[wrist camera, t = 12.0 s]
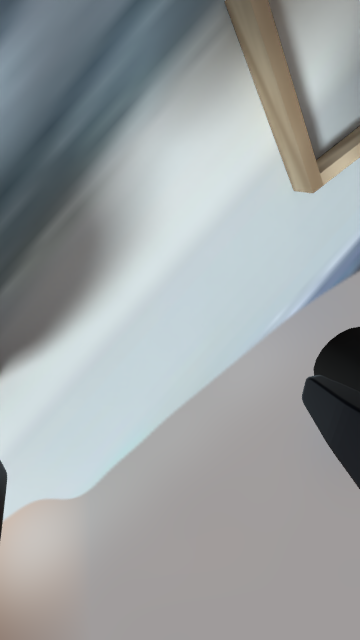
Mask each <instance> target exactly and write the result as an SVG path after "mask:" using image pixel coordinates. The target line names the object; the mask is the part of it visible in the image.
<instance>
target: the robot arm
mask: <svg viewBox="0 0 360 640" xmlns="http://www.w3.org/2000/svg"><path fill="white" fill-rule="evenodd" d="M302 400H303V403H304V405H305V407H306V408H307V410H308V412H309V413H310V415H311V417H312V418H313V420H314V422H315V424H316V425H317V427H318V429H319V430H320V432H321V434H322V435H323V437H324V439H325V440H326V442H327V444H328V445H329V447H330V448H331V449H332V451H333V453H334V454H335V456H336V457H337V458H338V460H339V461H340V462H341V464H342V465H343V467H344V468H345V469H346V471H347V472H348V473H349V475H350V476H351V478H352V479H353V480H354V482H355V483H356V484H357V486H358V487H359V489H360V392H359V391H357V390H354V389H352V388H350V387H347V386H345V385H343V384H340V383H338V382H336V381H333V380H331V379H329V378H326V377H324V376H321V375H315V376H312V377H308V378H307V379H306V382H305V386H304V390H303V394H302ZM6 485H7V473H6V470H5V468H4V466H3V464H2V462H1V461H0V538H1V530H2V522H3V513H4V503H5V494H6Z"/></svg>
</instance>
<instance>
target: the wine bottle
mask: <svg viewBox="0 0 360 640" xmlns="http://www.w3.org/2000/svg"><path fill="white" fill-rule="evenodd" d="M315 375H321V376H324V377H326V378H329V379H331V380H333V381H336V382H338V383H340V384H343V385H345V386H347V387H350V388H352V389H354V390H357V391H359V392H360V327H356V328H351V329H348V330H346V331H344V332H342V333H340V334H338V335H337V336H336V337H334V338H333V339H332V340H330V341H329V342H328V344H327V345H326V346H325V347H324V348H323V349H322V351H321V352H320V354H319V356H318V357H317V359H316V363H315V366H314V376H315Z"/></svg>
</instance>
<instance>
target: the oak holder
mask: <svg viewBox="0 0 360 640" xmlns="http://www.w3.org/2000/svg"><path fill="white" fill-rule="evenodd" d="M225 4H226V7H227V10H228V12H229V15H230V18H231V21H232V23H233V26H234V29H235V32H236V34H237V37H238V40H239V43H240V45H241V48H242V51H243V53H244V56H245V59H246V62H247V64H248V67H249V70H250V73H251V75H252V78H253V81H254V83H255V86H256V89H257V92H258V94H259V97H260V100H261V103H262V105H263V108H264V111H265V113H266V116H267V119H268V122H269V124H270V127H271V130H272V133H273V135H274V138H275V141H276V143H277V146H278V149H279V152H280V154H281V157H282V160H283V163H284V165H285V168H286V171H287V173H288V176H289V179H290V182H291V184H292V187H293V190H294V191H299V192H307V193H314V192H315V191H317V190H318V189H319V188H321V187H322V186H323V185H325V184H326V183H327V182H328V181H330V180H331V179H332V178H334V177H335V176H336V175H337V174H339V173H340V172H341V171H343V170H344V169H345V168H347V167H348V166H349V165H350V164H352V163H353V162H354V161H356V160H357V159H358V158H360V126H359V127H358V128H357V129H355V130H354V131H353V132H352V133H350V134H349V135H348V136H346V137H345V138H344V139H343V140H341V141H340V142H339V143H337V144H336V145H335V146H334V147H332V148H331V149H330V150H328V151H327V152H326V153H325V154H323V155H322V156H321V157H320V158H318V159H317V160H316V158H315V155H314V152H313V148H312V145H311V142H310V138H309V135H308V132H307V128H306V125H305V122H304V118H303V115H302V112H301V108H300V105H299V102H298V99H297V95H296V92H295V89H294V85H293V82H292V79H291V75H290V72H289V69H288V65H287V62H286V59H285V55H284V52H283V49H282V45H281V42H280V39H279V35H278V32H277V29H276V25H275V22H274V19H273V15H272V12H271V9H270V5H269V2H268V0H225Z"/></svg>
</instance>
